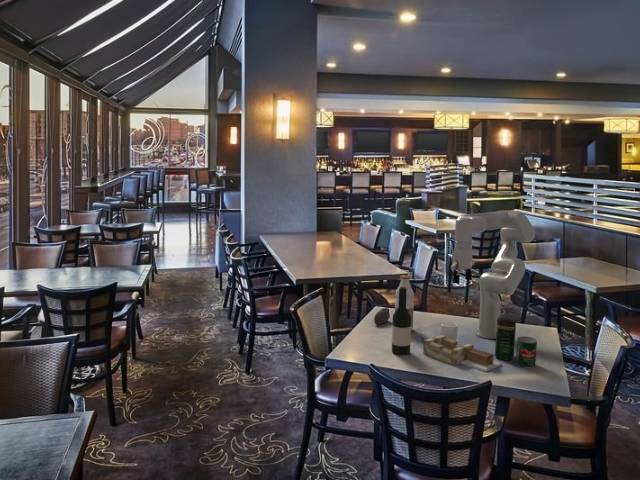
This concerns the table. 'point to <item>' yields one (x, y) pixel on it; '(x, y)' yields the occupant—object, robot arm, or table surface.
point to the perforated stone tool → (382, 316)
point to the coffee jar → (505, 337)
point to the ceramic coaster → (480, 366)
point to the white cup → (449, 330)
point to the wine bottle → (401, 326)
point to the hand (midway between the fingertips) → (462, 281)
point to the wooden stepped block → (446, 349)
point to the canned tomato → (526, 352)
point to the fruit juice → (409, 296)
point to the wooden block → (479, 356)
